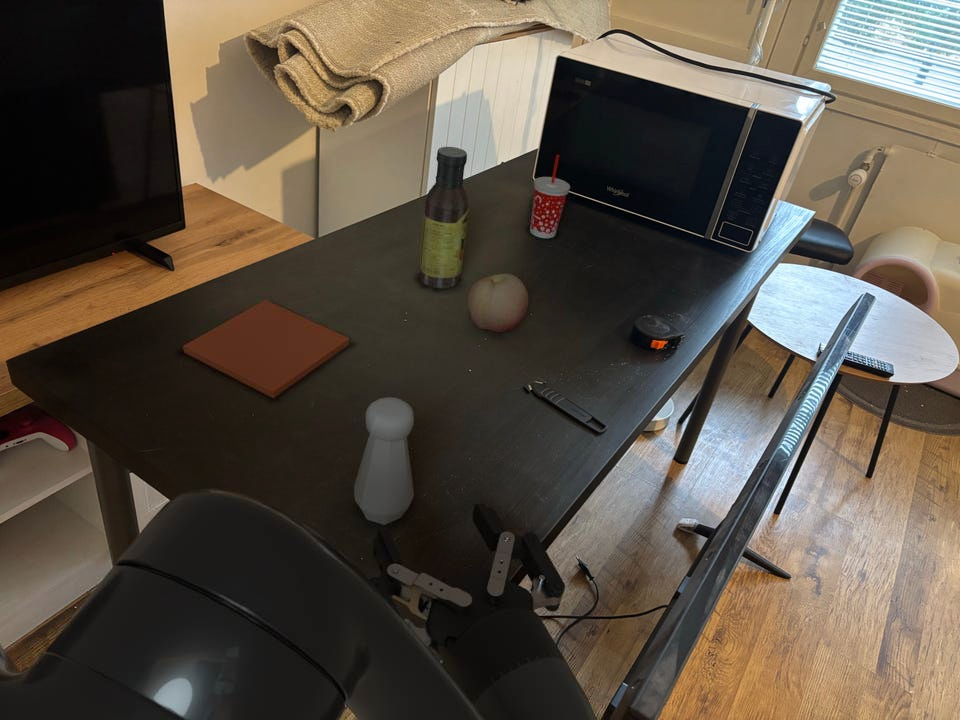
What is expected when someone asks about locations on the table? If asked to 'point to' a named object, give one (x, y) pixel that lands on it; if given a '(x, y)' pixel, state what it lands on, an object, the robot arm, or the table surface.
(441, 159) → the sauce bottle
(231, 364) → the mat
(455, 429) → the table surface
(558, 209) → the beverage cup
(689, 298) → the table surface
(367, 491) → the salt shaker
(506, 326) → the fruit
